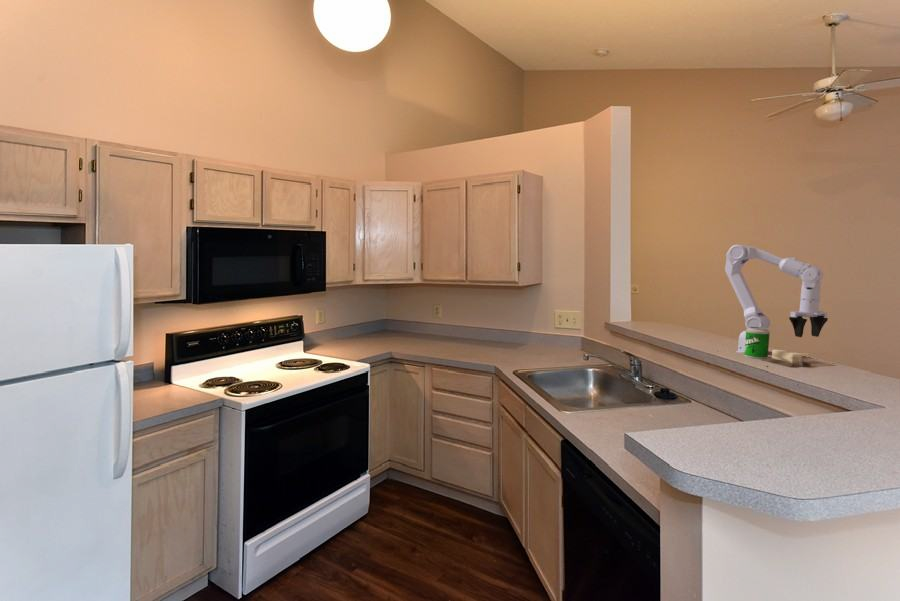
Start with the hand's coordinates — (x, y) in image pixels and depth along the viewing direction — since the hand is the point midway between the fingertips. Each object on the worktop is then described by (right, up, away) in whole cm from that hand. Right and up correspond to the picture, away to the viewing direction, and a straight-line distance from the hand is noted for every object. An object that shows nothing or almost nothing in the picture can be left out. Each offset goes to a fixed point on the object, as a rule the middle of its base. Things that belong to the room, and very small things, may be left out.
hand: (806, 336), depth 182 cm
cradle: (-8, -10, -6) cm, 14 cm away
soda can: (-17, -9, +3) cm, 20 cm away
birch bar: (-13, -9, -7) cm, 17 cm away
